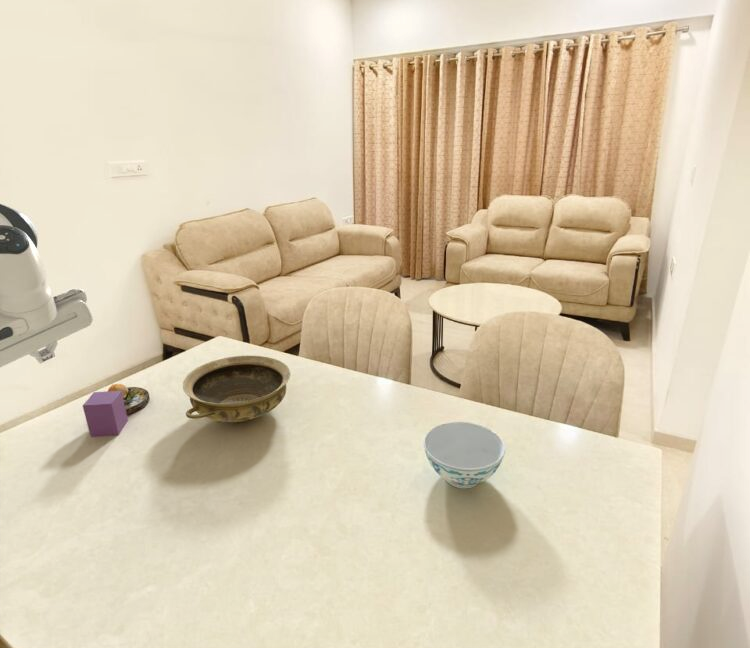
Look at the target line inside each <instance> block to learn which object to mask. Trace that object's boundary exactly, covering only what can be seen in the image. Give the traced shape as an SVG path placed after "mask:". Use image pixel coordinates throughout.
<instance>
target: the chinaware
mask: <svg viewBox="0 0 750 648" xmlns="http://www.w3.org/2000/svg"><path fill="white" fill-rule="evenodd" d="M423 447H424V453H425V454H426V455H425V456H426V458H427V460H428V463H429V464H430V466H431V468H432V469H433V471H434V472H435V473H436V474H437V475H438V476H439V477H440V478H442V479H444V481H446V482H447V484H449V485H450V486H452V487H455V488H458V489H471V488H475V486H477V485H478V484H481V483H483V482H485V481H487V480H488V479H490V478H491V477H492V476H493V475H494V473H496V472H497V470H498V469H499V467H500V466H501V464H502V462H503V460H504V457H505V453H506V446H505V443H504V441H503V439H502V438H501V437H500V435H499V434H497V433H496V432H495V431H494V430H492V429H490V428H488V427H486V426H483V425H482V424H477V423H473V422H466V421H450V422H444V423H441V424H438V425H436V426H434V427H432V428H430V429H429V431H428V432H427V433H426V434H425V436H424V438H423Z"/></svg>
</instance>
